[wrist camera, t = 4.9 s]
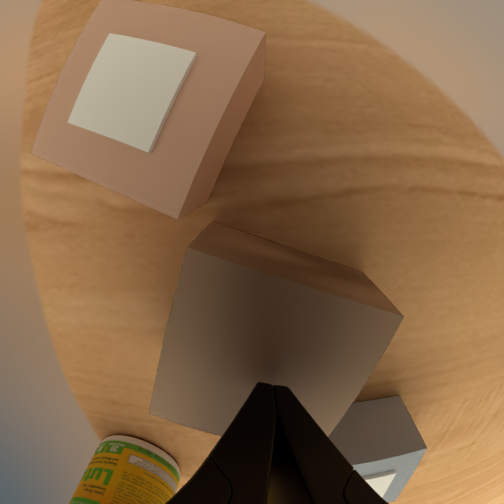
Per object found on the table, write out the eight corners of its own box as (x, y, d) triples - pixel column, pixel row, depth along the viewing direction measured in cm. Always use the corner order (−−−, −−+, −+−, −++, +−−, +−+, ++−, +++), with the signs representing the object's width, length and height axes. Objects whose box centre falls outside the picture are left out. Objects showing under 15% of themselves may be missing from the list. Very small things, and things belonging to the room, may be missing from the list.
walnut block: (362, 271, 11) (403, 316, 7) (303, 388, 13) (314, 453, 9) (213, 220, 11) (187, 247, 7) (176, 352, 13) (148, 413, 9)
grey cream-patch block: (398, 393, 13) (428, 451, 9) (378, 451, 14) (396, 503, 10) (303, 405, 13) (313, 474, 9) (297, 462, 14) (303, 519, 10)
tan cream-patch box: (264, 79, 10) (266, 28, 6) (206, 203, 11) (174, 221, 7) (147, 42, 9) (99, -5, 5) (95, 155, 10) (26, 154, 6)
